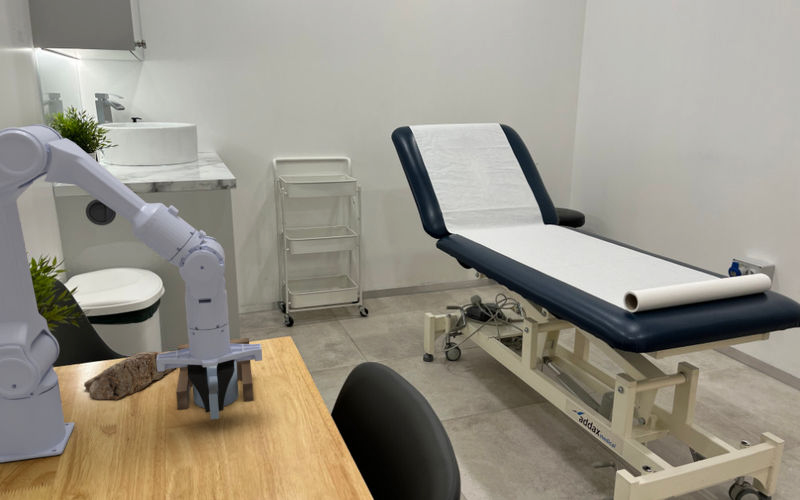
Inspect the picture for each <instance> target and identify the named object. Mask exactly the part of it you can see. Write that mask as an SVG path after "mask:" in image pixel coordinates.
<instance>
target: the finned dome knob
mask: <svg viewBox="0 0 800 500" xmlns="http://www.w3.org/2000/svg"><path fill="white" fill-rule="evenodd" d="M234 369H235V370H234V373H233V376H232V378H231V380H230V383H229V385H228V388H227V391H226V395H225V399H224V407H226V406H229V405H231V404H233V403H234V402H235V401H237V400H238V398H239V383H238V382H239V380H238V378H237V362H236V361H235V362H234ZM207 378H208V388H209V404H210V412H209V415H210V416H209V417H210V420H218V419H220V411H219V407H218V381H217V366H213V367H207ZM192 397H193V398H192V399H193V403H194V404H195V405H196V406H197V407H199V408H204V409H205V407H204V404H203V401H202V399H201V397H200V395H199V393H198V391H197V389H196V388H195V386H194V385H193V384H192Z"/></svg>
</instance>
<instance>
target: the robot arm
mask: <svg viewBox="0 0 800 500" xmlns="http://www.w3.org/2000/svg"><path fill="white" fill-rule="evenodd" d="M43 176H45V179H44V182H46V183H55V184H67V185H75V186H77V187H78V188H80V189H82V191H84V192H85V193H87V194H89V195H90V196H91V197H93V198H95V199H96V200H97V201H99V202H100V203H102V204H103V205H105V206H106V207H108V208H109V209H111V210H112V211H114V212H115V213H116V214H118V215H120V216H121V217H123V218H124V219H125V220H127V221H129V223H130V226H131V231H132V232H131V234H132V236H133V237H135V239H137V240H138V241H139V242H141V243H142V244H143V245H145V246H146V247H148V248H149V249H151V250H152V251H153V252H154V253H156V254H157V255H158V256H159V257H161V258H162V259H163V260H165V261H167V262H168V263H170V265H173V266H176V267H178V272H179V276H180V277H181V279H182V280H183V281H184V283H185V284H184V285H185V286H184V287H185V293H184V303H185V304H184V305H185V316H186V328H187V339H188V340H187V342H188V344H189V348H186V349H181V350H178V349H177V350H173V352H168V353H161V354H158V355H157V359H156V362H157V371H158V372H160V371H165V370H166V369H170V368H174V369H176V368H179V367H188V374H187V375H188V378H189V380H190V381H191V382H192V384H193V385H194V386H195V388H196V389H197V391H198V393H199V395H200V397H201V399H202V401H203V404H204V407H205V408H204V411H205V413H210V404H209V388H208V378H207V367H213V366H217V381H218V407H219V412H222V411H224V408H225V406H224V399H225V395H226V391H227V388H228V385H229V383H230V380H231V378H232V376H233V373H234V370H235V369H234V362H235V361H245V360H250V361H253V360H254V361H255V362H260V361H263V352H262V351H263V350H262V349H263V348H262V344H261V343H251V344H250V343H249V344H231V343H230V340H231V337H230V325H229V323H230V322H229V320H230V317H229V306H228V303H229V302H228V293H227V292H228V291H227V289H226V286H227V285H226V278H225V272H226V265H225V263H226V254H225V250H224V248H223V247H222V245H221V244H220V242H218V240H217V238H215V237H212V236H208V235H207V233H206V232H205V231H204V230H202V229H200V230H197V229H196V228H194V227H193V226H192V225H190V224H189V223H188V222H187V221H186V220H184V219H183V218H181V217H180V216H179V215H178V213H179V209H177V208H176V207H175V206H174V205H172V204H171V205H169V206H168V207H167V206H166V205H164V203H162V202H155V203H149V202H146V201H145V200H143V199H142V198H141V197H140V196H139V195H138V194H137V193H135V192H134V191H133V190H131V189H130V187H128V186H127V185H125V184H124V183H123V182H122V181H121V180H120V179H119V178H117V177H116V176H115V175H113V173H111V172H110V171H109V170H108V169H106V168H105V167H104V166H103V165H102V164H101V163H99V161H97V160H96V159H94V158H93V157H92V156H91V155H90V154H89V153H87V152H86V151H85V150H83V149H82V148H81V147H80V146H79V145H77V143H76V142H74V141H72V140H70V139H68V138H66V137H64V138H63V136H62V135H61V134H60V133H59V132H58V131H57V130H56V129H54V128H52V127H51V126H48V125H45V124H42V123H40V124H39V123H35V124H28V125H25V126H21V127H13V126H12V127H6V128H2V129H1V130H0V463H7V462H12V461H21V460H22V461H23V460H28V459H29V460H30V459H36V458H43V457H51V456H57V455H61V454H62V453H63V452H64V450H65V448H66V445H67V443H68V441H69V439H70V437H71V435H72V432H73V430H74V428H75V422H73V421H72V422H71V421H70V422H65V417H64V410H63V404H62V398H61V397H62V396H61V390H60V384H59V383H60V382H59V376H58V374H57V373H56V371H55V369H54V365H53V364H54V363H55V362H56V361H57V359H58V358H59V354H60V344H59V342H58V340H57V338H56V337H55V336H54V335H53V334H52V332H51V331H50V329H49V326H48V322H47V319H46V318H45V317H44V316H43V315H41V314H40V313H39V309H38V304H37V300H36V299H37V298H36V294H35V289H34V285H33V284H34V283H33V279H32V274H31V269H30V263H29V259H28V254H27V248H26V243H25V239H24V238H25V237H24V233H23V228H22V223H21V217H20V213H19V208H18V207H19V206H18V198H19V197H21V195H23V194H24V193H25V192H26V190H28V188H29V187H30V186H31V185H33V183H34V182H35V181H36V180H38V179H40V178H42V177H43ZM179 369H180V368H179Z"/></svg>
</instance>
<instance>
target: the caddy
mask: <svg viewBox="0 0 800 500" xmlns="http://www.w3.org/2000/svg"><path fill="white" fill-rule="evenodd" d="M230 343H231V344H250V338H248V337H247V338H246V337H245V338H238V339H237V338H235V339H230ZM186 348H189V343H185V344H178V345H177V350H181V349H186ZM236 362H237V378H238V381H242V392H243V393H242V394H243V396H242V397H243V402H248V401H254V390H253V389H254V387H253V377H252V376H253V374H252V365H251V360H245V361H236ZM187 374H188V367H179V373H178V379H177V385H176V391H175V393H176V403H177V404H176V405H177V410H184V409H188V408H189V403H190V395H191V386H192V382H191V381H190V380H189V378H188V375H187Z"/></svg>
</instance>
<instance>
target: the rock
mask: <svg viewBox="0 0 800 500" xmlns="http://www.w3.org/2000/svg"><path fill="white" fill-rule="evenodd" d="M173 351H174V350H173ZM173 351H171V350H169V351H168V350H166V351H156V350H155V351H142V352H138V353H134V354H132V355H131V356H127V358H125V359H123V360H121V361H119V362H117V363H114V364H113V365H111V366H109V367H108V368H106V369H104V370H103V371H102V372H100V373H99V374H97V375H96V376H93V377H91V378H90V379H87V381H84V383H83V386H84V388H85V389H86V390H87V391H88V392H89V396H90V397H91V398H93V399H95V400H115V401H117V400H120V399H121V398H123V397H124V396H125V397H127V396H130V395H132V394H135V393H137V392H139V391H141V390H142V389H144V388H145V387H147V386H149V385H150V384H151V383H152V382H153V381H156V380H160V379H161V378H163V377H164V375H169V374H171V373H172V371H173V370H174V369H175V368H170V369H166V370H165V371H160V372H158V371H157V362H156V359H157V355H158V354H161V353H168V352H173Z"/></svg>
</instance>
